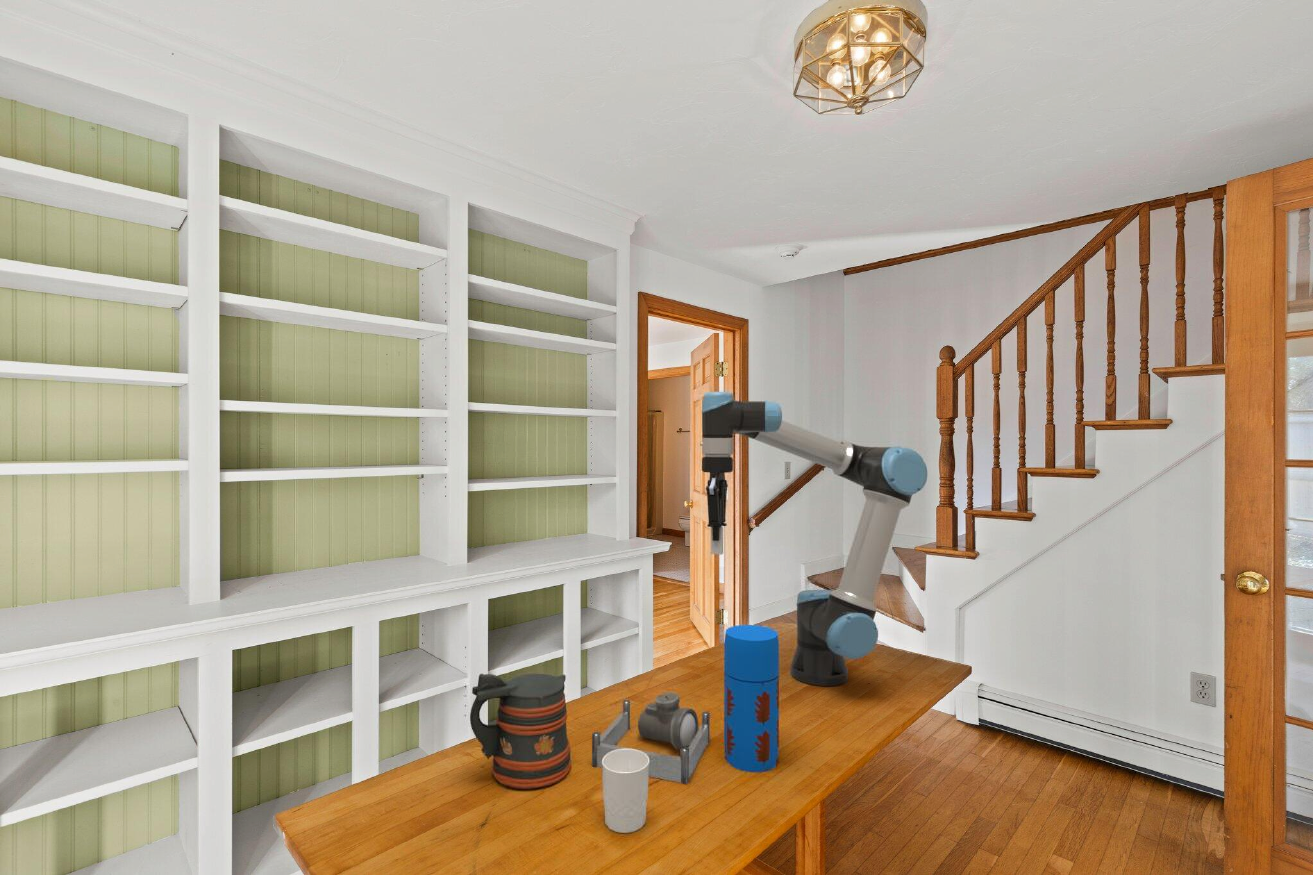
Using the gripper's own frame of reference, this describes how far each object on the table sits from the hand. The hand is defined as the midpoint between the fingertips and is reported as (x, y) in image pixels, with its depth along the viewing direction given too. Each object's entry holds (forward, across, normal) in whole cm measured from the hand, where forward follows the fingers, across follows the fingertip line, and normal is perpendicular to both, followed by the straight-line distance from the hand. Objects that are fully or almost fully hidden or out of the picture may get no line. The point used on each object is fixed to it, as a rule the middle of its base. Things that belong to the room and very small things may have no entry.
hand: (717, 553), depth 146 cm
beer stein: (+37, +42, -28) cm, 62 cm away
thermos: (+37, +22, +12) cm, 44 cm away
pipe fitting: (+37, +21, -6) cm, 43 cm away
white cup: (+37, +49, -4) cm, 61 cm away
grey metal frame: (+36, +26, -7) cm, 45 cm away
